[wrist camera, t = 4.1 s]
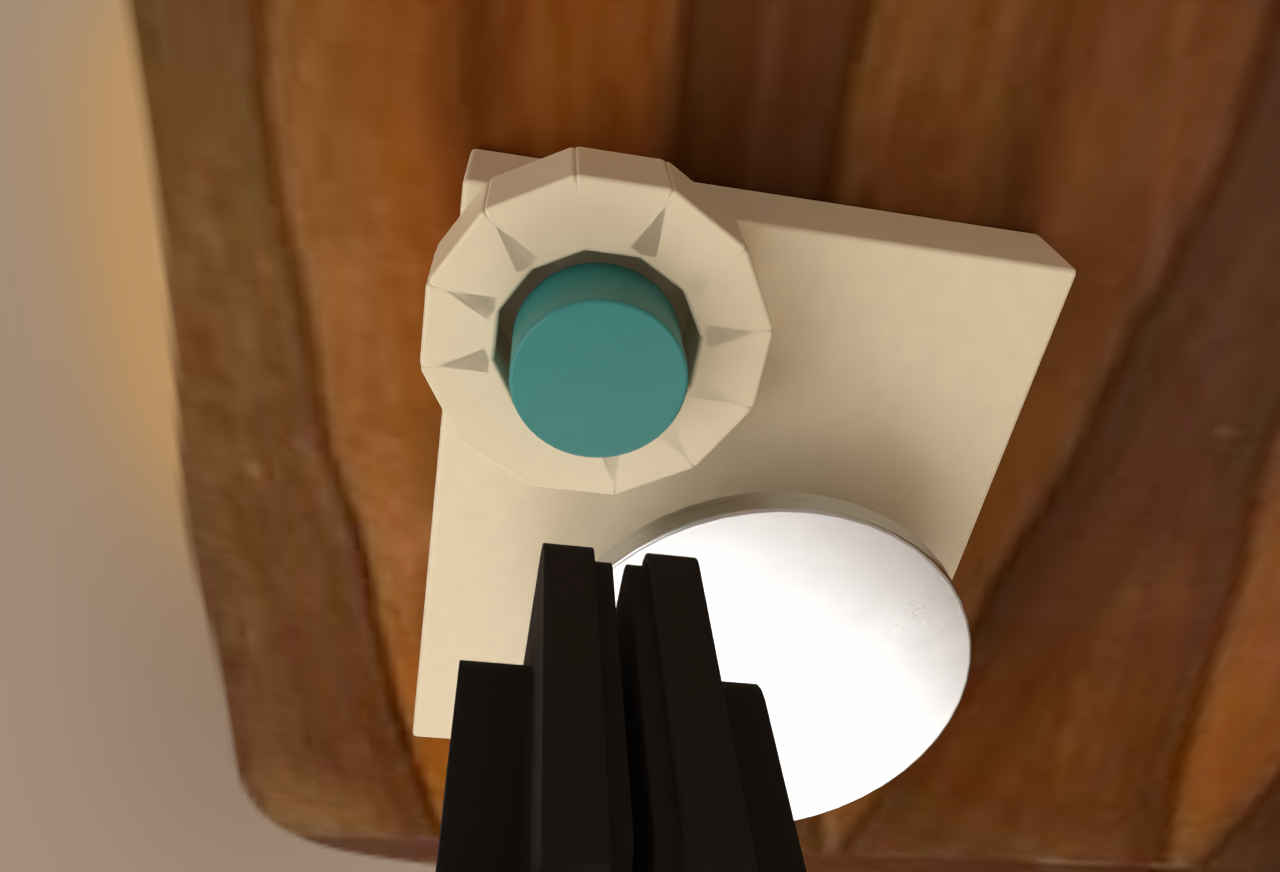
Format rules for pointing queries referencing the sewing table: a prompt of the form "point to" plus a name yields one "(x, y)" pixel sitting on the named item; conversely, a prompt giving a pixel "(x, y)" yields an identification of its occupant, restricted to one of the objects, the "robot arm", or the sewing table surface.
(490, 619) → the scale
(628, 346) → the button
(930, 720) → the weighing pan
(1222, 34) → the sewing table surface
